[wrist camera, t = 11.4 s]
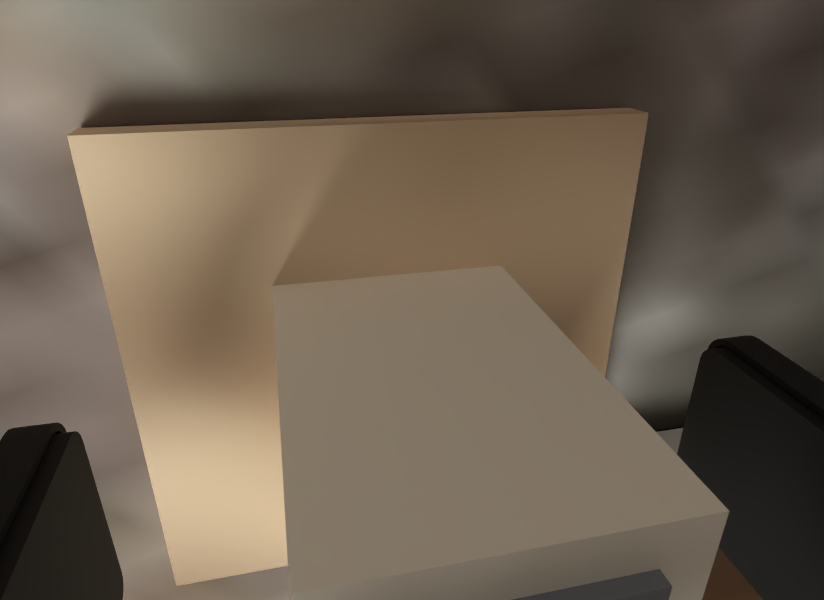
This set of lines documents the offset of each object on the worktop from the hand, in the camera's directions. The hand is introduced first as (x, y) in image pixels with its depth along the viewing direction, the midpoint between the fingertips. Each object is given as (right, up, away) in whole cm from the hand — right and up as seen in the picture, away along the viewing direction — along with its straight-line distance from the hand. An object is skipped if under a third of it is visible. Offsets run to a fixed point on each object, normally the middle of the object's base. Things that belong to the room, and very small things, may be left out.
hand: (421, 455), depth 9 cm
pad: (-1, +1, +3) cm, 3 cm away
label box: (-1, +1, +2) cm, 2 cm away
